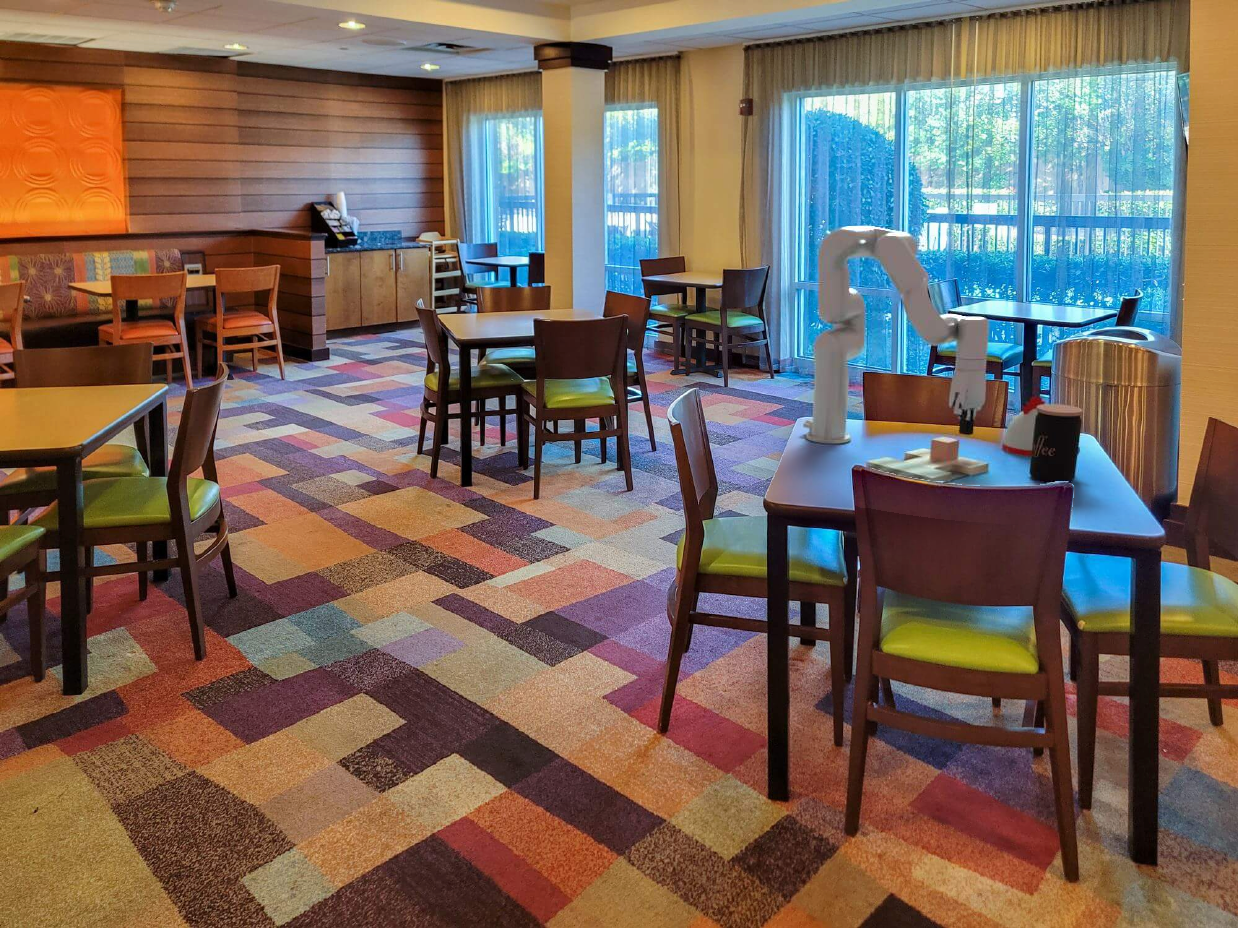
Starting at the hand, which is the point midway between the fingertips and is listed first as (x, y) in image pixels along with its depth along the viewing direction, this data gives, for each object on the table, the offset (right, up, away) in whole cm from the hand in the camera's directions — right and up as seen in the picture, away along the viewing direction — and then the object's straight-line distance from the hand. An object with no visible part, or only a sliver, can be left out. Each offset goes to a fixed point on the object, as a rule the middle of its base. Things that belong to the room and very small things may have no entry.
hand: (965, 433), depth 278 cm
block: (-7, -6, -3) cm, 10 cm away
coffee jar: (+17, -12, -14) cm, 25 cm away
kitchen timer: (+22, -4, +15) cm, 27 cm away
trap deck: (-12, -9, -7) cm, 17 cm away
